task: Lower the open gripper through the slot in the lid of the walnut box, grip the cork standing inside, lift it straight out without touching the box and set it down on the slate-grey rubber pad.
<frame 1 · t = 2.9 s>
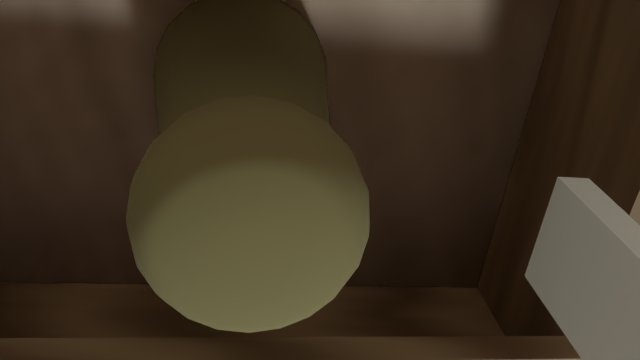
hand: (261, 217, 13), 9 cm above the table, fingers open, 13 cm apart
cork: (242, 76, 22), resting in walnut box
walnut box: (242, 78, 21), on the table
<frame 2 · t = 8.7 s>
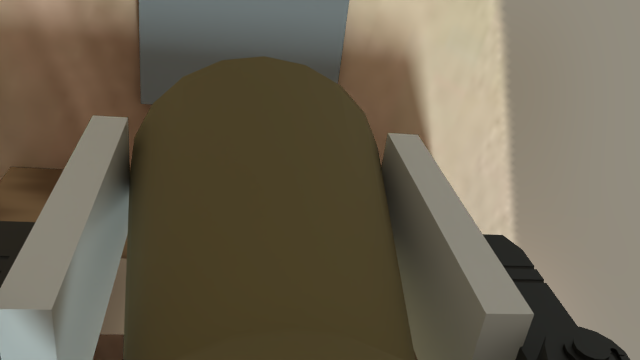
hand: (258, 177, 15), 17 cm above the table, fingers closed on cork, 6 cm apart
cork: (257, 173, 15), point 17 cm above the table, touching gripper
walnut box: (227, 313, 39), on the table
grey pad: (245, 11, 30), on the table
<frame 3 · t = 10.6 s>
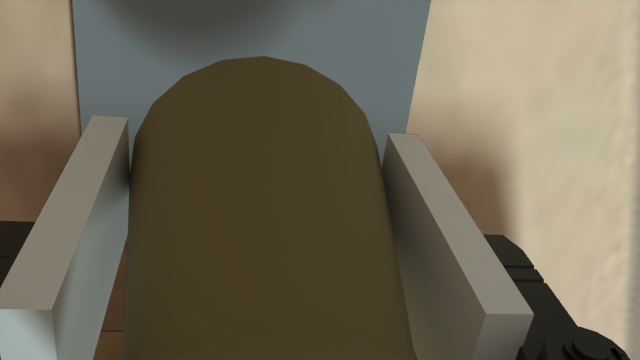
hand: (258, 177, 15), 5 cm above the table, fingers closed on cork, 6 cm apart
cork: (257, 172, 15), point 5 cm above the table, touching gripper
grey pad: (250, 105, 19), on the table
when the fingers open (2 cm above the table, at t = 12.1 s): cork drops 1 cm, resting on grey pad.
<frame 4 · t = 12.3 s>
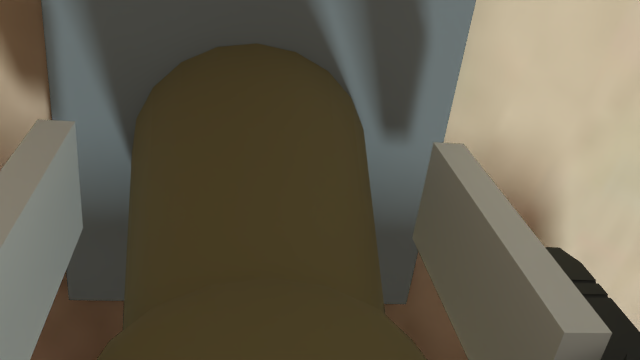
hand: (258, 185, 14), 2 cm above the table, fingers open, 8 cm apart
cork: (251, 153, 16), resting on grey pad
grey pad: (255, 144, 16), on the table
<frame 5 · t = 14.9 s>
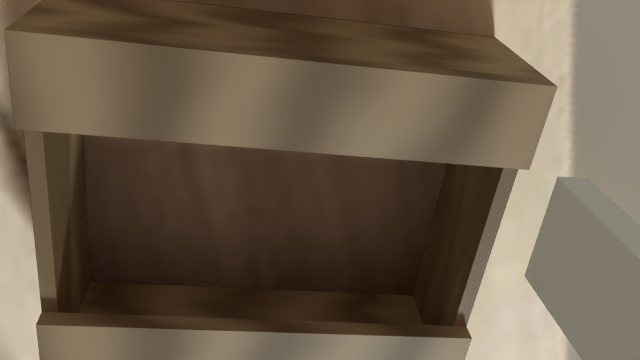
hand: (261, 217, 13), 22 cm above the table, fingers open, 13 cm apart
walnut box: (271, 173, 37), on the table
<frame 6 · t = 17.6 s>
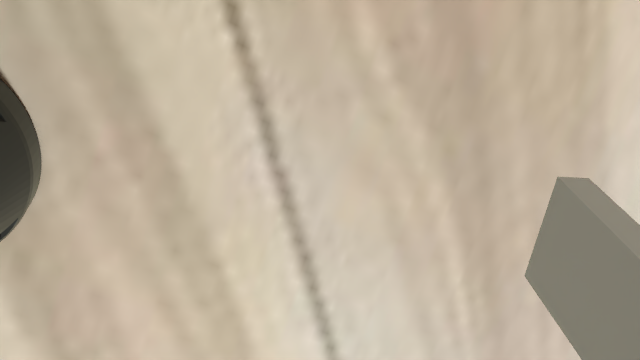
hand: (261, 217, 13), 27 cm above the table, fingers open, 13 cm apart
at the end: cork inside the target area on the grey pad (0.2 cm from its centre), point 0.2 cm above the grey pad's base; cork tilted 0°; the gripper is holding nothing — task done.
